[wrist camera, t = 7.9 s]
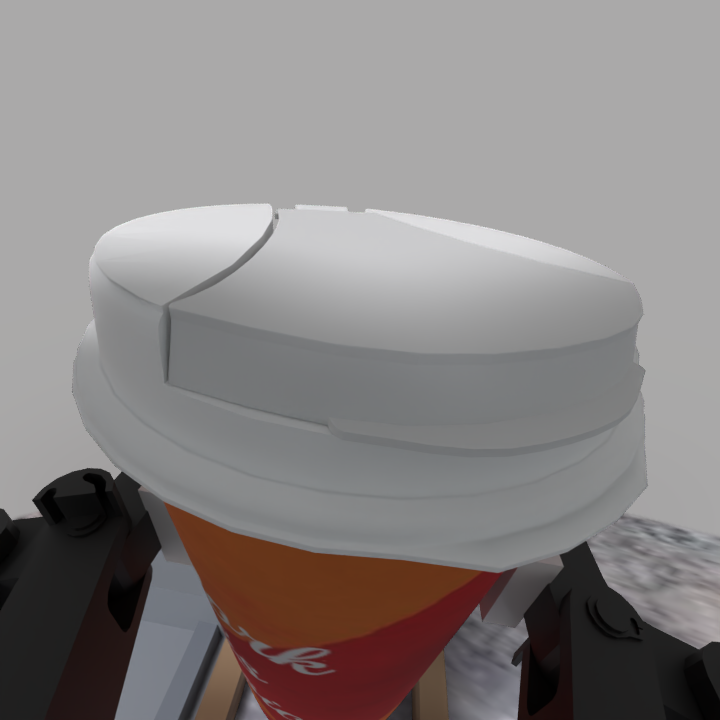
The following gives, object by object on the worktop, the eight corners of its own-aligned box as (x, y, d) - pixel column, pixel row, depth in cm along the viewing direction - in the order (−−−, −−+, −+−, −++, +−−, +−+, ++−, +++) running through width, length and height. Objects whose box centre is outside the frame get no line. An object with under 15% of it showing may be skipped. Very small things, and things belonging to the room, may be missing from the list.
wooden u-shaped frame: (256, 579, 26) (254, 562, 24) (432, 612, 25) (440, 597, 24) (137, 905, 14) (122, 906, 13) (452, 986, 14) (468, 994, 12)
